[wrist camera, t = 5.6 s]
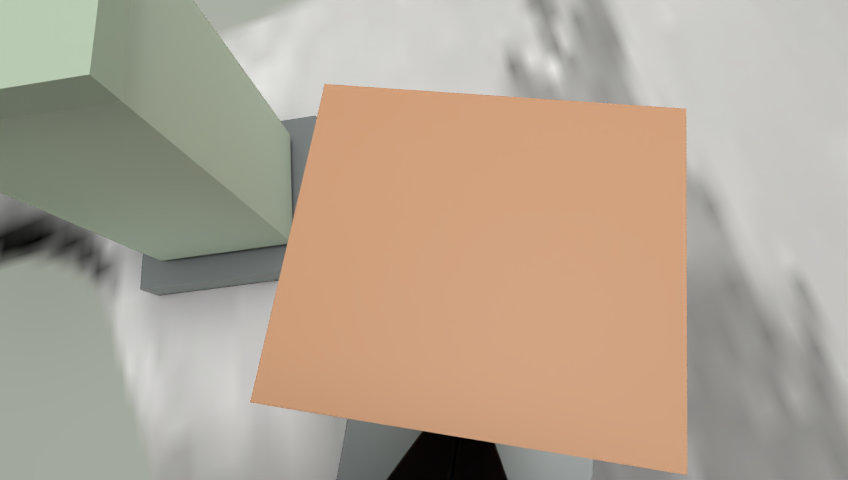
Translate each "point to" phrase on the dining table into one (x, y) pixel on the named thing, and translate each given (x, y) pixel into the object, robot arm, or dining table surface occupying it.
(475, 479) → the robot arm
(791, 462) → the dining table surface
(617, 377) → the orange rectangular block
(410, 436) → the terracotta key base
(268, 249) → the sage key base
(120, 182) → the sage key
